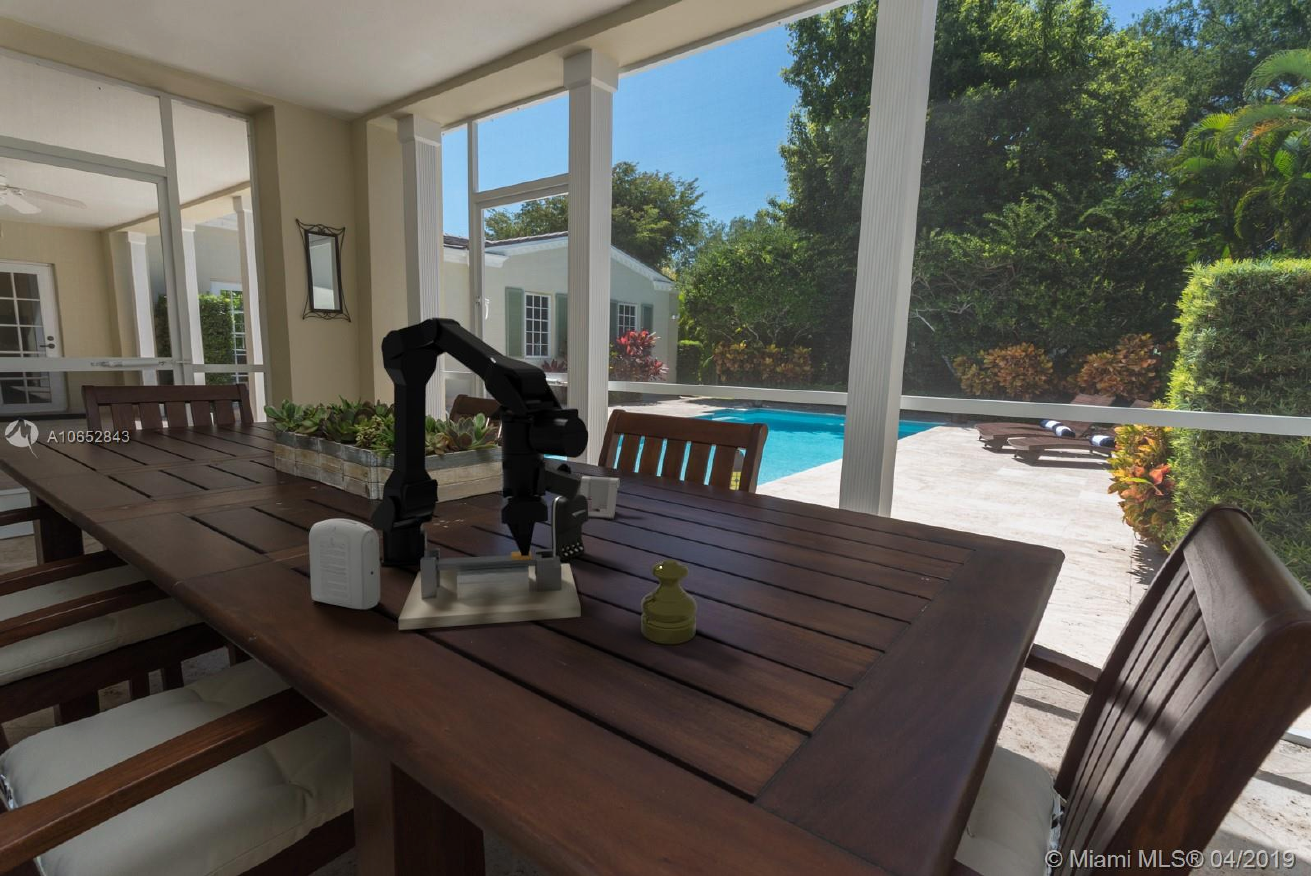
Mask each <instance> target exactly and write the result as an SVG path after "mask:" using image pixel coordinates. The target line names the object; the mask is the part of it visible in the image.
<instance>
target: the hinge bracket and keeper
mask: <svg viewBox="0 0 1311 876" xmlns="http://www.w3.org/2000/svg"><path fill="white" fill-rule="evenodd" d="M535 554H541V556H542V558H538V559H537V576H536V582H537V592H543V591H558V590H561V564H562V563H561V560H560V558H559V556H553V549H552V548H545V549H543V548H542V549H535ZM440 555H441V553H440V547H430V548H429V547H427V549H425V557H423V558H421V560H420V563H419V564H420V571H421V599H432V598H437V587H440V571H436V559H441V558H440Z"/></svg>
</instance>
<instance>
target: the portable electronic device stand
mask: <svg viewBox="0 0 1311 876" xmlns="http://www.w3.org/2000/svg"><path fill="white" fill-rule="evenodd" d="M620 481H621V480H620V478H619V477H607V476H590V475H589V476H588V475H583V476H582V477H581V484H580V488H579V489H580V490H579V494H581V495H584V496H585V497H586V498H587V501H588V499H589V490H590V497H591V498H590V499H591V506H592V507H591V508H592V510H596V509H598V510H599V511H592V510H591V511H590V508H589V507H588V518H601V519H614V518H615V511H616V502H617V494H618V488H619V487H620ZM599 506H602V507H605V508H600V507H599Z"/></svg>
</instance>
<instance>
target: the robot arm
mask: <svg viewBox="0 0 1311 876" xmlns="http://www.w3.org/2000/svg"><path fill="white" fill-rule="evenodd" d="M380 347H381V354H382V356H381V357H382V361H383V362H382V364H383V369H384V371H385V373H386V374H387V375H388V377H389V378H390V380H391V382H392V383H393V470H392V471H391V473H390V474H389V476H388V478H387V479H386V481H385V482H384V484H383V490H382V498H381V502H380V503H379V504H378V506H377V507H376V508H375V510H374V511H373V513H372V514H371V515H370V520H371V523H372V527H373V528H372V529H374V530H379V531H381V535H382V554H383V555H382V556H383V557H382V560H381V561H380V566H394V565H395V566H397V565H398V566H400V565H415V564H417V565H418V564H420V560H421V558H425V549H427V548H428V532H427V530H426V529H425V530H424V524H425V523H426V524H427V523H431V522H432V521H433V516H434V512H435V509H436V507H437V503H438V502H439V497H438V486H439V482H438V480H437V479H436V478H432V477H431V475H430V474H429V472H428V470H427V469H426V468H427V467H426V441H427V440H426V431H427V430H426V427H427V425H426V424H427V423H426V422H427V420H426V419H427V416H426V415H427V413H426V412H427V411H426V410H427V409H426V408H427V385H428V383H429V381H430V379H431V378H432V377H433V375H434V373H436V372H435V371H437V370H436V369H437V364H438V362H437V361H438V358H439V357H440V356H442V355H443V354H448V355H449V356H451V357H452V358H454V359H455V360H456V361H457V362H458V363H460V364H461V365H463V366H464V367H466V368H467V369H469V370H470V371H472V372H473V373H474V374H475V375H477V376H478V377H479V378H480V379H482V381H483V383H484V384H483V385H484V389H485V390H486V392H487V393H488V394H489V395H490V396H491V397H492V398H493V399H494V400H495V401H496V403H497V404H499V406H498V408H497V409H496V410H495V411H494V412H493V413H492V414H491V415H490V416H489V419H490V420H491V421H496V422H500V424H501V425H500V428H501V429H500V430H501V431H500V432H501V455H502V456H501V457H502V459H501V464H502V465H501V466H502V498H503V499H505V500H504V501H502V503H501V505H500V506H501V510H500V511H501V512H500V514H501V515H500V517H501V524H504V525H507V528H508V530H509V532H510V533H511V535H512V537H513V539H514V541H515V544H516V546H517V549H518V550H519V552H520V553H521V554H522V555H528V554H529V551H531V550H530V549H531V546H532V545H531V544H532V539H533V534H534V530H535V525H536V523H545V522H547V521H548V522H549V507H548V503H547V501H546V500H545V499H544V498H542V497H543V496H544V497H545V496H547V493H551V494H554V495H557V496H564V497H566V499H569V500H575V498H576V495H577V494H579V491H580V490H579V489H580V488H581V481H582V478H581V477H580V476H579V475H577V474H576V473H572V468H571V465H570V464H568V463H565V462H562V461H561V462H560V463H559V464H557V465H556V466H555V467H554V466H551V467H550V466H547V465H546V461H545V460H544V457H543V455H544V456H545V455H548V456H554V457H563V458H564V457H565V458H573V459H574V458H575V459H576V458H579V457H580V456H581V455H583V453H584V452H585V450H586V448H587V447H588V441H589V431H588V430H587V426H586V424H585V421H583V419H582V418H581V417H579V409H578V408H573V407H572V408H571V407H570V408H564V409H563V407H562V405H561V404H560V402H559V400H558V398H557V397H556V395H555V393H554V391H553V390H552V388H551V386H550V384H549V383H548V381H547V375H546V373H545V371H544V370H543V369H541V368H540V367H538V366H535V365H533V364H531V363H529V362H526V361H523V360H519V359H516V358H511V357H509V356H506V355H504V354H503V353H501V352H499V351H498V350H496V349H495V348H494V347H492V346H491V345H489V344H488V343H486V342H485V341H484V340H482V339H481V338H479V337H478V336H476V335H475V334H473V333H472V332H471V331H469V330H468V329H467V328H465V327H464V326H462V325H461V324H460V322H459V321H457V320H455V319H454V318H449V317H448V318H446V317H435V316H434V317H430V318H427V319H425V320H423V321H420V322H419V323H416V324H412V325H410V326H406V327H402V328H400V329H393V330H390V331H389V332H387V334H386V336H384V337H383V338H382V342H381V345H380Z"/></svg>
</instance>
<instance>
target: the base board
mask: <svg viewBox="0 0 1311 876" xmlns="http://www.w3.org/2000/svg"><path fill="white" fill-rule="evenodd" d="M528 567H529V596H522V597H507V598H491V599H476V600H460V601H457V575H458V571H459V570H443V571H440V587H437V598H432V599H421V570H420V571H418V572H417V574H416V578H415V579H414V582H413V583H412V586H411V589H410V591H409V593H408V596H407V598H406V600H405V603H404V605H403V607H402V610H401V611H400V615H399V617H398V631H403V630H416V629H417V630H418V629H419V630H420V629H430V628H431V629H432V628H443V627H445V628H446V627H447V628H448V627H455V626H456V627H458V626H470V625H471V626H474V625H485V624H495V623H496V624H497V623H499V624H500V623H512V622H513V623H515V622H525V621H539V620H553V619H554V620H555V619H567V618H581V617H582V616H581V613H582V611H581V609H582V608H581V607H582V606H581V603H580V599H579V595H578V592H577V588H576V584H575V580H574V577H573V573H572V569H571V565H570V563H561V590H558V591H543V592H537V582H536V576H535V566H528Z"/></svg>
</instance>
